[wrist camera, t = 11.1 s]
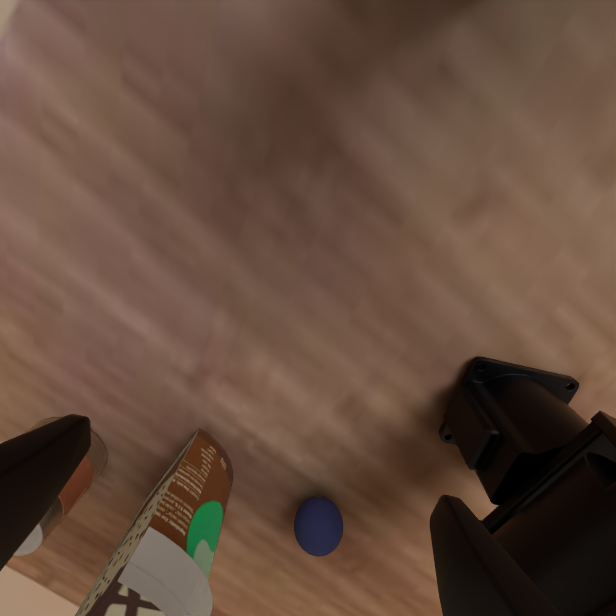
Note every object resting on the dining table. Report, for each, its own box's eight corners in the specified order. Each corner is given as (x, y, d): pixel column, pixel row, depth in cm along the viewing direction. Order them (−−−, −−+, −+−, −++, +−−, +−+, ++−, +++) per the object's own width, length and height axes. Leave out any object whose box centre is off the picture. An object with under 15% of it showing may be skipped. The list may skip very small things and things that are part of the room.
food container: (201, 541, 28) (134, 722, 18) (138, 508, 27) (34, 681, 17) (280, 457, 24) (245, 634, 14) (209, 415, 23) (122, 574, 13)
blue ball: (347, 491, 24) (349, 539, 21) (336, 522, 26) (336, 573, 22) (301, 481, 24) (296, 528, 21) (292, 513, 26) (286, 562, 22)
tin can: (107, 426, 24) (37, 499, 18) (108, 484, 26) (47, 565, 20) (27, 408, 24) (-68, 476, 18) (35, 468, 26) (-47, 545, 20)
